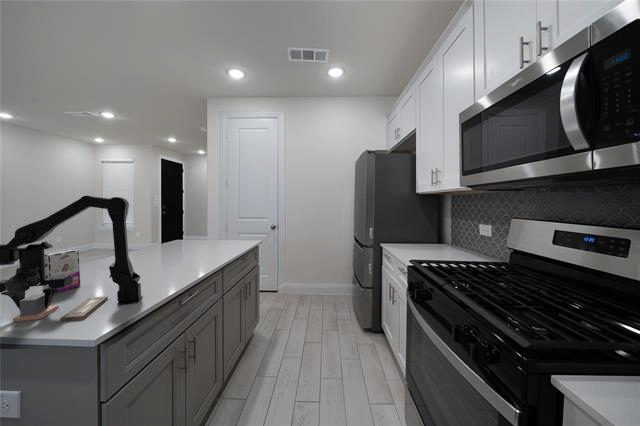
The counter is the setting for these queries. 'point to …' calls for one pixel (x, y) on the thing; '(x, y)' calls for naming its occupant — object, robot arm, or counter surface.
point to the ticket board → (84, 309)
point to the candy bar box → (63, 267)
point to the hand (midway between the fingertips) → (34, 309)
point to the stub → (34, 308)
